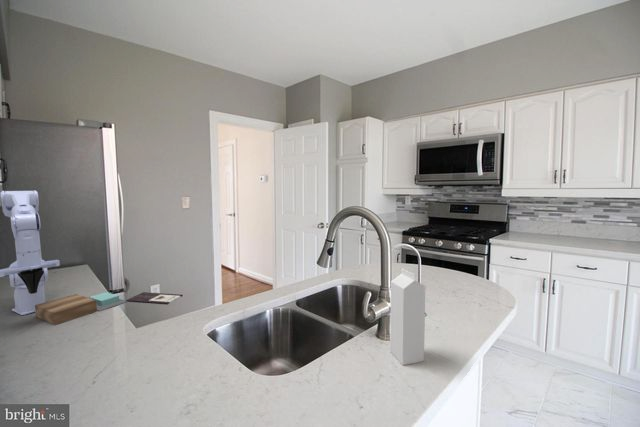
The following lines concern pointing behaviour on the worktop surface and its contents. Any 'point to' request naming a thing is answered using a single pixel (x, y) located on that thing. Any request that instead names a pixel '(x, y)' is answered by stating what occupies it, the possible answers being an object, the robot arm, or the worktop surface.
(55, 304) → the brown flat block
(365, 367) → the worktop surface
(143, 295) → the chocolate bar
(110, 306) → the mat
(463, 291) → the worktop surface
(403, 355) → the milk
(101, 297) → the teal rectangular block
